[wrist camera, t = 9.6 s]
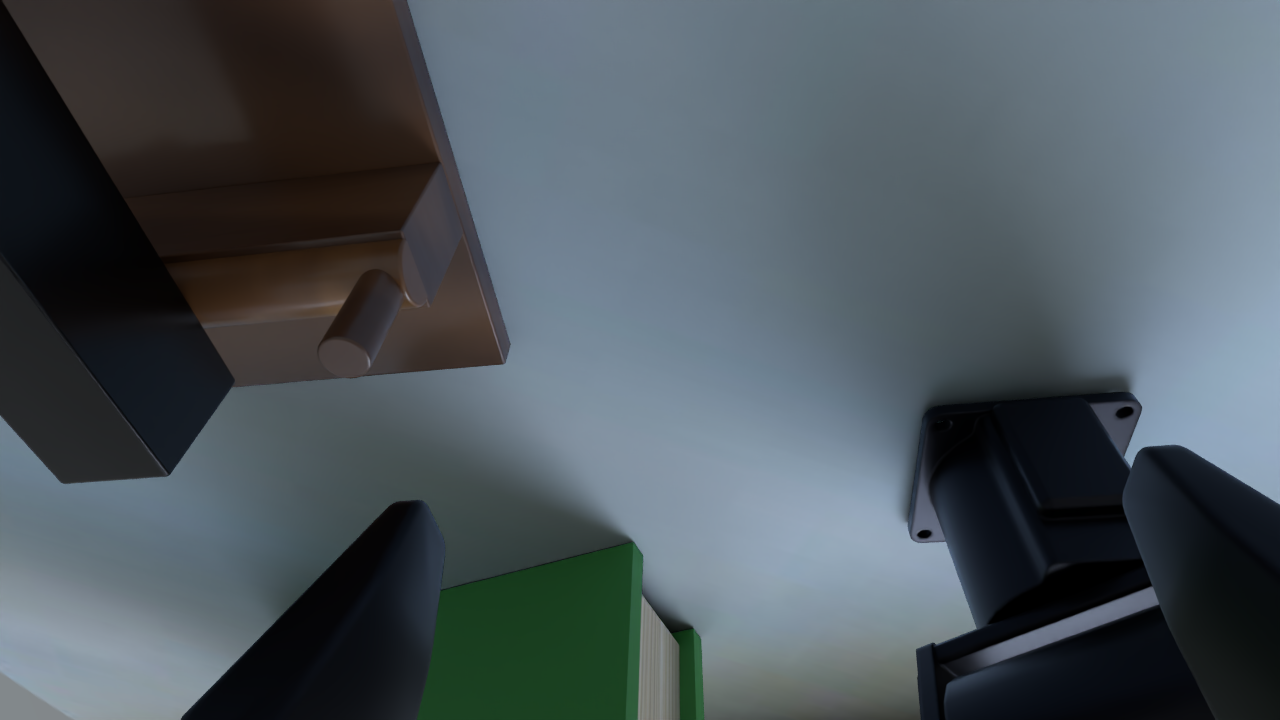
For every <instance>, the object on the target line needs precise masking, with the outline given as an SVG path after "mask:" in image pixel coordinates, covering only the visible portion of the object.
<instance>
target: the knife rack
mask: <svg viewBox="0 0 1280 720" xmlns="http://www.w3.org/2000/svg"><path fill="white" fill-rule="evenodd" d="M2 1H3V3H4V4H5V6H6V8H7V9H8V11H9V12H10V14H11V16H12V17H13V19H14V21H15V22H16V24H17V25H18V27H19V29H20V30H21V32H22V34H23V35H24V37H25V38H26V40H27V42H28V43H29V45H30V47H31V48H32V50H33V52H34V53H35V55H36V56H37V58H38V60H39V61H40V63H41V65H42V66H43V68H44V69H45V71H46V73H47V74H48V76H49V78H50V79H51V81H52V82H53V84H54V86H55V87H56V89H57V91H58V92H59V94H60V95H61V97H62V99H63V100H64V102H65V104H66V105H67V107H68V108H69V110H70V112H71V113H72V115H73V117H74V118H75V120H76V121H77V123H78V125H79V126H80V128H81V130H82V131H83V133H84V135H85V136H86V138H87V139H88V141H89V143H90V144H91V146H92V148H93V149H94V151H95V152H96V154H97V156H98V157H99V159H100V161H101V162H102V164H103V165H104V167H105V169H106V170H107V172H108V174H109V175H110V177H111V178H112V180H113V182H114V183H115V185H116V187H117V188H118V190H119V191H120V193H121V195H122V196H123V198H124V200H125V201H126V203H127V204H128V206H129V208H130V209H131V211H132V213H133V214H134V216H135V218H136V219H137V221H138V222H139V224H140V226H141V227H142V229H143V231H144V232H145V234H146V235H147V237H148V239H149V240H150V242H151V244H152V245H153V247H154V248H155V250H156V252H157V253H158V255H159V257H160V258H161V260H162V261H163V263H164V265H165V266H166V268H167V270H168V271H169V273H170V274H171V276H172V278H173V279H174V281H175V283H176V284H177V286H178V287H179V289H180V291H181V292H182V294H183V296H184V297H185V299H186V301H187V302H188V304H189V305H190V307H191V309H192V310H193V312H194V314H195V315H196V317H197V318H198V320H199V322H200V323H201V325H202V327H203V328H204V330H205V331H206V333H207V335H208V336H209V338H210V340H211V341H212V343H213V344H214V346H215V348H216V349H217V351H218V353H219V354H220V356H221V357H222V359H223V361H224V362H225V364H226V366H227V367H228V369H229V370H230V372H231V374H232V375H233V377H234V379H235V383H234V385H233V386H232V387H242V386H254V385H266V384H278V383H289V382H301V381H313V380H324V379H336V378H357V377H360V376H371V375H383V374H395V373H406V372H418V371H430V370H442V369H453V368H465V367H477V366H488V365H500V364H505V363H506V359H507V355H508V352H509V348H510V341H509V338H508V335H507V331H506V328H505V325H504V321H503V318H502V315H501V312H500V308H499V305H498V302H497V298H496V295H495V292H494V288H493V285H492V282H491V278H490V275H489V272H488V269H487V265H486V262H485V259H484V255H483V252H482V249H481V245H480V242H479V239H478V235H477V232H476V229H475V225H474V222H473V219H472V216H471V212H470V209H469V206H468V202H467V199H466V196H465V192H464V189H463V186H462V182H461V179H460V176H459V173H458V169H457V166H456V163H455V159H454V156H453V153H452V149H451V146H450V143H449V139H448V136H447V133H446V130H445V126H444V123H443V120H442V116H441V113H440V110H439V106H438V103H437V100H436V96H435V93H434V90H433V86H432V83H431V80H430V77H429V73H428V70H427V67H426V63H425V60H424V57H423V53H422V50H421V47H420V43H419V40H418V37H417V34H416V30H415V27H414V24H413V20H412V17H411V14H410V10H409V7H408V4H407V0H2Z"/></svg>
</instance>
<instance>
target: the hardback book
mask: <svg viewBox="0 0 1280 720" xmlns="http://www.w3.org/2000/svg"><path fill="white" fill-rule="evenodd" d="M642 571H643V555H642V554H641V552H640V551H639V549H638V548H637V546H636V545H635V544H634V542H632V543H628V544H624V545H620V546H616V547H612V548H608V549H604V550H600V551H596V552H592V553H588V554H584V555H580V556H576V557H572V558H569V559H565V560H561V561H557V562H553V563H549V564H545V565H541V566H537V567H533V568H529V569H525V570H521V571H517V572H513V573H509V574H505V575H501V576H497V577H493V578H489V579H485V580H481V581H478V582H474V583H470V584H466V585H462V586H458V587H454V588H450V589H446V590H442V591H440V598H439V606H438V613H437V621H436V629H435V636H434V644H433V650H432V656H431V662H430V667H429V671H428V676H427V680H426V684H425V688H424V692H423V697H422V701H421V705H420V709H419V713H418V717H417V720H704V702H703V675H702V649H701V638H700V637H699V636H698V634H697V633H696V631H695V630H694V629H690V630H685V631H680V632H675V633H670V632H669V631H668V629H667V628H666V626H665V625H664V624H663V622H662V621H661V620H660V618H659V617H658V616H657V614H656V613H655V611H654V610H653V609H652V607H651V606H650V605H649V603H648V602H647V601H646V599H645V598H644V596H643V595H642Z"/></svg>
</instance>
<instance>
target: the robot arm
mask: <svg viewBox="0 0 1280 720" xmlns="http://www.w3.org/2000/svg"><path fill="white" fill-rule="evenodd" d="M1122 407H1123V408H1122ZM1120 408H1122V409H1120ZM1141 411H1142V406H1141V405H1140V403H1139V402H1138V400H1137V399H1136V398H1135V396H1134V395H1133V394H1131V393H1129V392H1117V393H1104V394H1090V395H1077V396H1063V397H1050V398H1037V399H1023V400H1010V401H996V402H983V403H969V404H956V405H943V406H937V407H933V408H931V409H929V410H928V411H927V412H926V413H925V415H924V417H923V422H922V429H921V436H920V443H919V450H918V457H917V464H916V471H915V478H914V485H913V492H912V499H911V506H910V514H909V521H908V530H909V533H910V537H911V539H912V540H913V541H915V542H918V543H929V542H946V543H947V546H948V549H949V552H950V554H951V557H952V560H953V563H954V566H955V568H956V571H957V574H958V577H959V580H960V582H961V585H962V588H963V591H964V594H965V596H966V599H967V602H968V605H969V608H970V610H971V613H972V616H973V619H974V622H975V624H976V627H977V629H976V630H973V631H970V632H968V633H965V634H963V635H960V636H958V637H955V638H952V639H950V640H947V641H945V642H942V643H939V644H937V645H936V644H935V643H930V644H928V645H925V646H923V647H920V648H918V649H916V656H917V668H918V677H917V680H918V692H919V703H920V714H921V720H1280V504H1278V503H1276V502H1275V501H1273V500H1271V499H1270V498H1268V497H1266V496H1265V495H1263V494H1261V493H1260V492H1258V491H1256V490H1255V489H1253V488H1251V487H1250V486H1248V485H1247V484H1245V483H1243V482H1242V481H1240V480H1238V479H1237V478H1235V477H1233V476H1232V475H1230V474H1228V473H1227V472H1225V471H1223V470H1222V469H1220V468H1218V467H1217V466H1215V465H1214V464H1212V463H1210V462H1209V461H1207V460H1205V459H1204V458H1202V457H1200V456H1199V455H1197V454H1195V453H1194V452H1192V451H1190V450H1189V449H1187V448H1185V447H1182V446H1179V445H1164V446H1150V447H1144V448H1142V449H1141V450H1140V451H1139V452H1138V453H1137V455H1136V457H1135V460H1134V463H1133V466H1132V468H1131V467H1130V465H1129V464H1128V462H1127V461H1126V459H1125V458H1124V455H1125V453H1126V450H1127V448H1128V445H1129V442H1130V440H1131V437H1132V435H1133V432H1134V429H1135V427H1136V424H1137V422H1138V419H1139V417H1140V414H1141ZM940 420H944V421H943V422H939V423H937V422H938V421H940ZM444 560H445V542H444V539H443V536H442V534H441V532H440V530H439V527H438V525H437V523H436V521H435V519H434V517H433V515H432V513H431V511H430V509H429V507H428V505H427V504H426V503H425V502H424V501H422V500H411V501H398V502H395V503H393V504H391V505H390V506H389V507H388V508H387V509H386V510H385V511H384V512H383V513H382V514H381V515H380V516H379V517H378V518H377V519H376V520H375V521H374V522H373V523H372V524H371V525H370V526H369V527H368V528H367V529H366V530H365V531H364V532H363V533H362V534H361V535H360V536H359V537H358V538H357V539H356V540H355V541H354V542H353V543H352V544H351V545H350V546H349V547H348V548H347V549H346V550H345V551H344V552H343V553H342V554H341V555H340V556H339V558H338V559H337V560H336V561H335V562H334V563H333V564H332V565H331V566H330V567H329V568H328V569H327V570H326V571H325V572H324V573H323V574H322V575H321V576H320V577H319V578H318V579H317V580H316V581H315V582H314V583H313V584H312V585H311V586H310V587H309V588H308V589H307V590H306V591H305V592H304V593H303V594H302V595H301V596H300V597H299V598H298V599H297V600H296V601H295V602H294V603H293V604H292V605H291V606H290V607H289V608H288V609H287V610H286V611H285V612H284V613H283V615H282V616H281V617H280V618H279V619H278V620H277V621H276V622H275V623H274V624H273V625H272V626H271V627H270V628H269V629H268V630H267V631H266V632H265V633H264V634H263V635H262V636H261V637H260V638H259V639H258V640H257V641H256V642H255V643H254V644H253V645H252V646H251V647H250V648H249V649H248V650H247V651H246V652H245V653H244V654H243V655H242V656H241V657H240V658H239V659H238V660H237V661H236V662H235V663H234V664H233V665H232V666H231V667H230V668H229V669H228V670H227V672H226V673H225V674H224V675H223V676H222V677H221V678H220V679H219V680H218V681H217V682H216V683H215V684H214V685H213V686H212V687H211V688H210V689H209V690H208V691H207V692H206V693H205V694H204V695H203V696H202V697H201V698H200V699H199V700H198V701H197V702H196V703H195V704H194V705H193V706H192V707H191V708H190V709H189V710H188V711H187V712H186V713H185V714H184V715H183V716H182V718H181V720H417V717H418V713H419V709H420V705H421V701H422V697H423V692H424V688H425V684H426V680H427V676H428V671H429V667H430V662H431V656H432V650H433V644H434V636H435V629H436V621H437V613H438V606H439V598H440V590H441V583H442V575H443V568H444Z"/></svg>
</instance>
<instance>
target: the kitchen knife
mask: <svg viewBox="0 0 1280 720" xmlns="http://www.w3.org/2000/svg"><path fill="white" fill-rule="evenodd" d="M234 383H235V379H234V377H233V375H232V374H231V372H230V370H229V369H228V367H227V366H226V364H225V362H224V361H223V359H222V357H221V356H220V354H219V353H218V351H217V349H216V348H215V346H214V344H213V343H212V341H211V340H210V338H209V336H208V335H207V333H206V331H205V330H204V328H203V327H202V325H201V323H200V322H199V320H198V318H197V317H196V315H195V314H194V312H193V310H192V309H191V307H190V305H189V304H188V302H187V301H186V299H185V297H184V296H183V294H182V292H181V291H180V289H179V287H178V286H177V284H176V283H175V281H174V279H173V278H172V276H171V274H170V273H169V271H168V270H167V268H166V266H165V265H164V263H163V261H162V260H161V258H160V257H159V255H158V253H157V252H156V250H155V248H154V247H153V245H152V244H151V242H150V240H149V239H148V237H147V235H146V234H145V232H144V231H143V229H142V227H141V226H140V224H139V222H138V221H137V219H136V218H135V216H134V214H133V213H132V211H131V209H130V208H129V206H128V204H127V203H126V201H125V200H124V198H123V196H122V195H121V193H120V191H119V190H118V188H117V187H116V185H115V183H114V182H113V180H112V178H111V177H110V175H109V174H108V172H107V170H106V169H105V167H104V165H103V164H102V162H101V161H100V159H99V157H98V156H97V154H96V152H95V151H94V149H93V148H92V146H91V144H90V143H89V141H88V139H87V138H86V136H85V135H84V133H83V131H82V130H81V128H80V126H79V125H78V123H77V121H76V120H75V118H74V117H73V115H72V113H71V112H70V110H69V108H68V107H67V105H66V104H65V102H64V100H63V99H62V97H61V95H60V94H59V92H58V91H57V89H56V87H55V86H54V84H53V82H52V81H51V79H50V78H49V76H48V74H47V73H46V71H45V69H44V68H43V66H42V65H41V63H40V61H39V60H38V58H37V56H36V55H35V53H34V52H33V50H32V48H31V47H30V45H29V43H28V42H27V40H26V38H25V37H24V35H23V34H22V32H21V30H20V29H19V27H18V25H17V24H16V22H15V21H14V19H13V17H12V16H11V14H10V12H9V11H8V9H7V8H6V6H5V4H4V3H3V1H2V0H0V416H1V417H2V418H3V419H4V420H5V421H6V422H7V424H8V425H9V426H10V427H11V428H12V429H13V430H14V431H15V432H16V433H17V435H18V436H19V437H20V438H21V439H22V440H23V441H24V442H25V443H26V445H27V446H28V447H29V448H30V449H31V450H32V451H33V452H34V453H35V454H36V456H37V457H38V458H39V459H40V460H41V461H42V462H43V463H44V464H45V466H46V467H47V468H48V469H49V470H50V471H51V472H52V473H53V474H54V475H55V477H56V478H57V479H58V480H59V481H60V482H61V483H63V484H70V483H84V482H98V481H112V480H126V479H139V478H153V477H166V476H169V475H170V474H171V473H172V471H173V470H174V468H175V467H176V466H177V464H178V463H179V461H180V460H181V458H182V457H183V456H184V454H185V453H186V451H187V450H188V449H189V447H190V446H191V444H192V443H193V441H194V440H195V439H196V437H197V436H198V434H199V433H200V432H201V430H202V429H203V427H204V426H205V424H206V423H207V422H208V420H209V419H210V417H211V416H212V415H213V413H214V412H215V410H216V409H217V407H218V406H219V405H220V403H221V402H222V400H223V399H224V398H225V396H226V395H227V393H228V392H229V390H230V389H231V388H232V386H233V385H234Z"/></svg>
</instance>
